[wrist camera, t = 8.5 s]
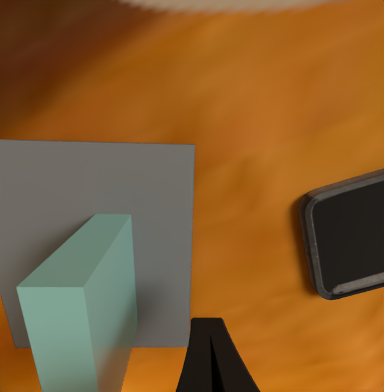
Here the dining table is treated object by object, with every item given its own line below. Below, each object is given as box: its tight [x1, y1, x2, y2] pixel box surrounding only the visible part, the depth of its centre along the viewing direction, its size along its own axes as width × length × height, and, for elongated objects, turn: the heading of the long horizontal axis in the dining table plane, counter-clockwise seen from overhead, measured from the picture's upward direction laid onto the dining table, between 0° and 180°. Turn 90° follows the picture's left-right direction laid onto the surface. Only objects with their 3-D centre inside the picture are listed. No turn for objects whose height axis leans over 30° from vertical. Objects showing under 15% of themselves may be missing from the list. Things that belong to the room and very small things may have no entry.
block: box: [16, 214, 138, 392], centre depth 11 cm, size 8×2×6 cm, turn 178°
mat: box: [0, 139, 195, 348], centre depth 13 cm, size 14×12×1 cm
